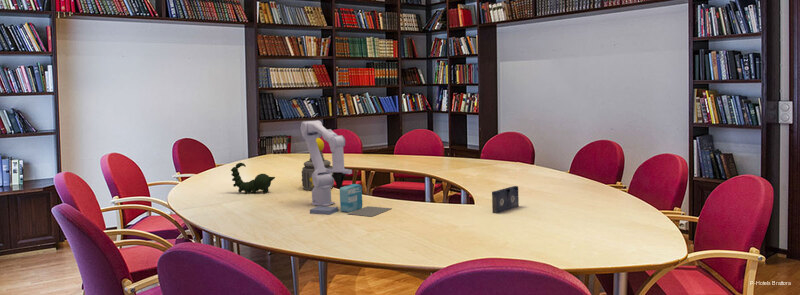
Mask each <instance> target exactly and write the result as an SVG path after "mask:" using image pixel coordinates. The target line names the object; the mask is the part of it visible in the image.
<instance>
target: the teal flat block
mask: <svg viewBox="0 0 800 295" xmlns="http://www.w3.org/2000/svg"><path fill="white" fill-rule="evenodd" d="M339 203H340V204H339V206H340V207H339V209H340V211H341V212H342V213H351V212H353V211H356V210H359V209H362V208H363V187H362V185H361V184H358V183H357V184H356V183H351V184H349V185H348V184H347V185H344V186H342V187H341V188H339Z"/></svg>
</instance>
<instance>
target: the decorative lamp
mask: <svg viewBox="0 0 800 295" xmlns="http://www.w3.org/2000/svg"><path fill="white" fill-rule="evenodd" d="M316 142H317V145H318V148H319V151H320V154H321V157H322V160H323V163H324V166H325V168H327V169H333V166H332V165H331V163H332V161H330V160H328V159H325V157H324V153H323V150H324V147H325V143H324V140H323V139H322V138H320V137H318V138H317V139H316ZM314 171H315V169H314V165H313V162H312V159H311V156H310V155H309V160H306V161H305V162H303V167H302V168H301V182H302V184H301V186H302V187H303V190H305V191H310V192H312V190H313V188H314V187H315V186H314V185H313V181H312V174H313V172H314ZM331 174H333V173H331ZM334 186H335V182H334V183H333V185H332V188H331V189H333V188H334Z"/></svg>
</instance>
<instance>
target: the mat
mask: <svg viewBox="0 0 800 295" xmlns="http://www.w3.org/2000/svg"><path fill="white" fill-rule="evenodd" d="M391 210H392V207H382V206H369V205H367V206H364V207H362V208H361V209H358V210H355V211H352V212H347V215H349V216H350V215H351V216H359V217H370V218H373V217H375V216H379V215H380V214H383V213H385V212H388V211H391Z"/></svg>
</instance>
